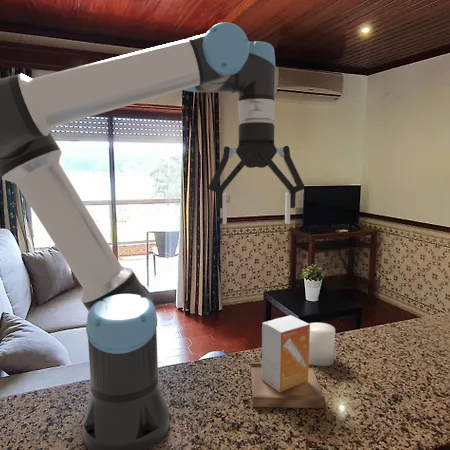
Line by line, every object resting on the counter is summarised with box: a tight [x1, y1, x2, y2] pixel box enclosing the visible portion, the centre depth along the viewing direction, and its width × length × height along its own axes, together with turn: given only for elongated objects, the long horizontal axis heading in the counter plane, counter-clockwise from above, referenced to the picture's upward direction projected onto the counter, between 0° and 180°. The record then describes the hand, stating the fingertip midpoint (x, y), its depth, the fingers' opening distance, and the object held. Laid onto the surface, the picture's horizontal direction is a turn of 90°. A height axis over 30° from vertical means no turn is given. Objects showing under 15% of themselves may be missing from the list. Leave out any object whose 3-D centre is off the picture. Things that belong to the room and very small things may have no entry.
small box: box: [261, 314, 310, 392], centre depth 83 cm, size 8×6×13 cm
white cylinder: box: [309, 322, 336, 367], centre depth 97 cm, size 7×9×8 cm
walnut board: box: [250, 361, 326, 409], centre depth 84 cm, size 14×14×2 cm
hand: (255, 223), depth 85 cm, fingers open, 13 cm apart
